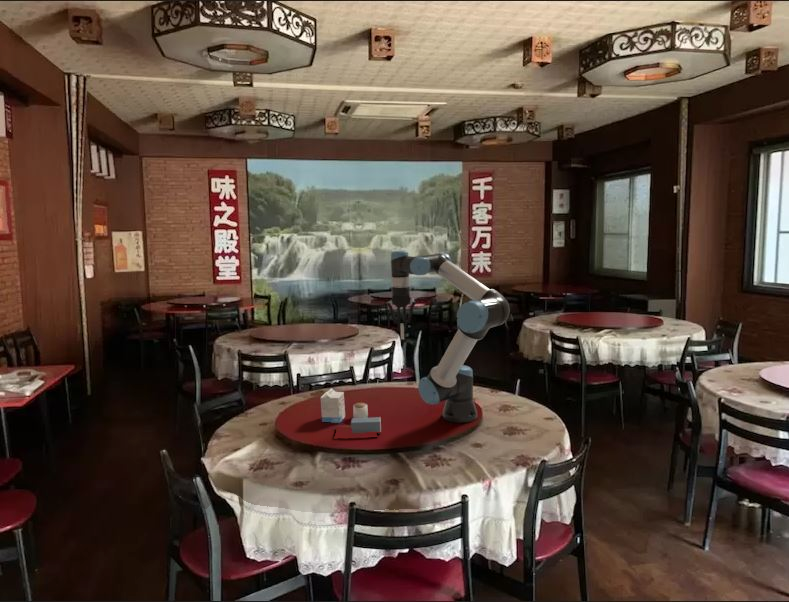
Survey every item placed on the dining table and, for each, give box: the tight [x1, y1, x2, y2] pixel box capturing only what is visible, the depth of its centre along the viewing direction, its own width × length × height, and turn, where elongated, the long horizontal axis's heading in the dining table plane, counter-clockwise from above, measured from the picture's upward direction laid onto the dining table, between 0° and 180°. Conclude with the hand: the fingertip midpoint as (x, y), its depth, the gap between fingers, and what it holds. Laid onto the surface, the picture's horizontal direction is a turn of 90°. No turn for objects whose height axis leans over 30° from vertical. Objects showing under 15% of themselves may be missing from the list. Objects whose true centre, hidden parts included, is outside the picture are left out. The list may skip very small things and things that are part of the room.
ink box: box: [320, 387, 346, 424], centre depth 262 cm, size 9×8×13 cm
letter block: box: [350, 416, 382, 433], centre depth 246 cm, size 5×5×12 cm
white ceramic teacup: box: [352, 402, 369, 418], centre depth 263 cm, size 6×6×6 cm
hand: (402, 338), depth 262 cm, fingers closed
